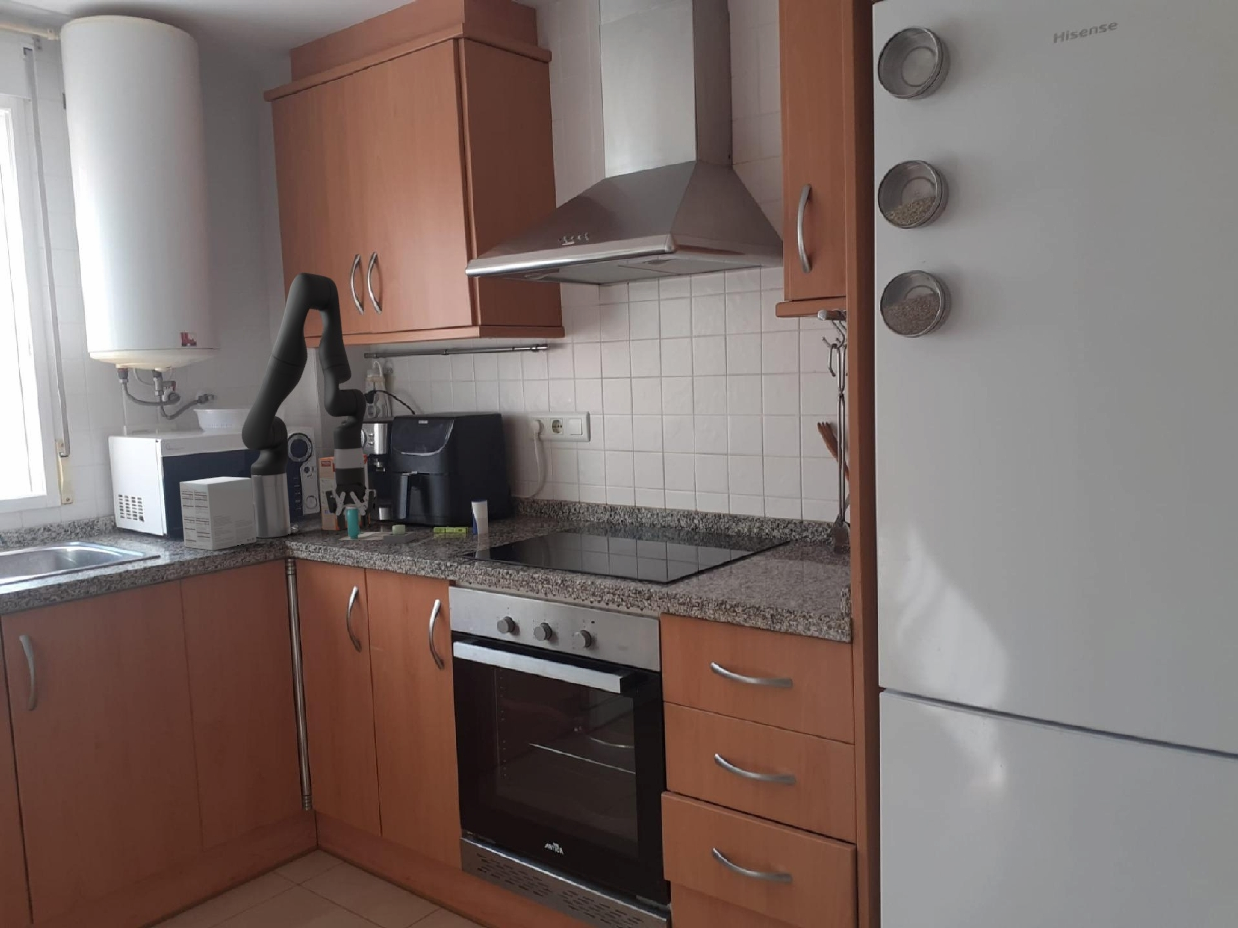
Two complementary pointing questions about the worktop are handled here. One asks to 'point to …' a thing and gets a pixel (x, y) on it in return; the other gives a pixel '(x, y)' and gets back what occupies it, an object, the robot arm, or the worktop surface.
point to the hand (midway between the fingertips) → (353, 528)
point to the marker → (353, 521)
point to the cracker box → (330, 484)
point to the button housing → (399, 538)
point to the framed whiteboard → (368, 536)
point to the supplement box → (217, 512)
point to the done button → (398, 529)
